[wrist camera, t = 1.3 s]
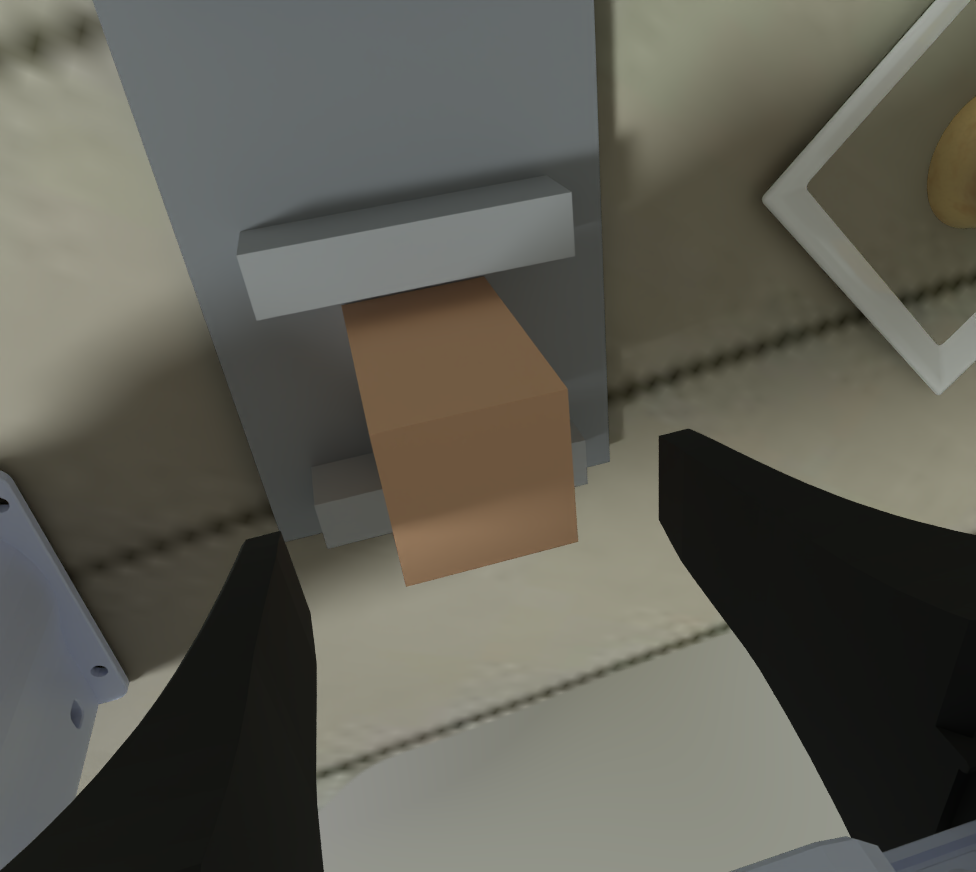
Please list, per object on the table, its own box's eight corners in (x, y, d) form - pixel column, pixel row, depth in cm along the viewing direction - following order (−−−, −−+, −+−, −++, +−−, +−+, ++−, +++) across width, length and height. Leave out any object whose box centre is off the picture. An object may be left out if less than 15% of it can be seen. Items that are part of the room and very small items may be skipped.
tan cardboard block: (499, 400, 23) (577, 541, 17) (371, 429, 22) (406, 586, 16) (484, 276, 20) (567, 388, 15) (340, 305, 20) (368, 434, 14)
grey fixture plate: (601, 449, 25) (633, 495, 23) (283, 527, 24) (284, 584, 22) (548, -807, 12) (613, -998, 10) (-185, -819, 10) (-315, -1050, 8)
